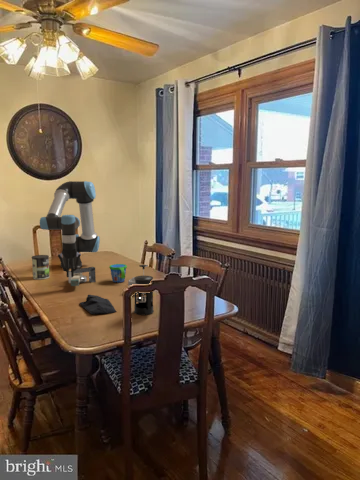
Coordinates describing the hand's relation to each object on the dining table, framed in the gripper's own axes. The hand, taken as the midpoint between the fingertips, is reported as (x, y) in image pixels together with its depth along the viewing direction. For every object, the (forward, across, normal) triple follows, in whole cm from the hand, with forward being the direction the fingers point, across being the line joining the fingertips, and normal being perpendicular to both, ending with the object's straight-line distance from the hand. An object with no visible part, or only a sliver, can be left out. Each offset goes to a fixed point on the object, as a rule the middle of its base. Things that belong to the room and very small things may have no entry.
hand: (70, 282), depth 216 cm
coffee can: (+4, -21, +31) cm, 37 cm away
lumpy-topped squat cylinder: (+4, +39, -13) cm, 41 cm away
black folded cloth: (+5, +16, -36) cm, 39 cm away
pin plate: (+4, +3, +18) cm, 19 cm away
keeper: (+4, +7, +13) cm, 15 cm away
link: (+1, +3, +8) cm, 9 cm away
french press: (+4, +38, -47) cm, 60 cm away
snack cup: (+4, +28, +13) cm, 31 cm away
